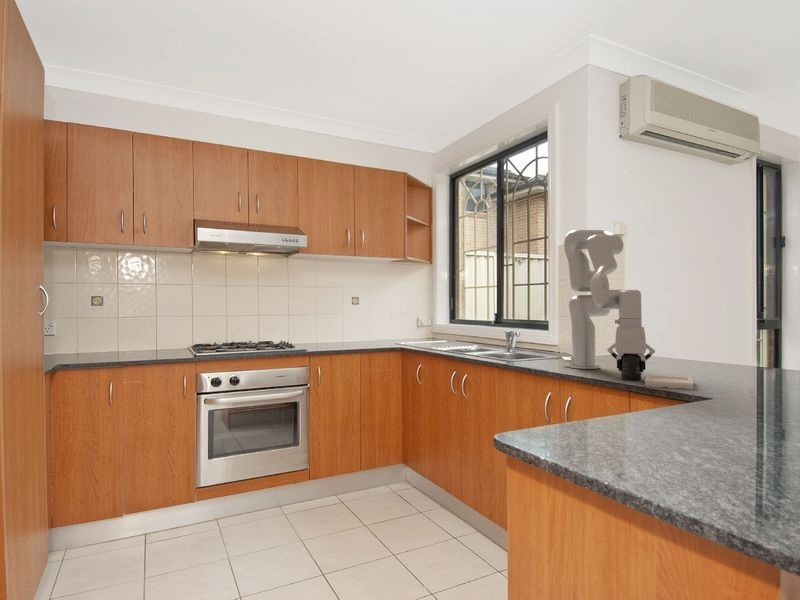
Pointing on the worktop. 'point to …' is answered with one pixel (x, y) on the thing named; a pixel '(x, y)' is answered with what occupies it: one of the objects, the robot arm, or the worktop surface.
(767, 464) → the worktop surface
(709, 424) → the worktop surface
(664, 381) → the dish
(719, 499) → the worktop surface
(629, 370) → the supplement bottle
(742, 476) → the worktop surface
